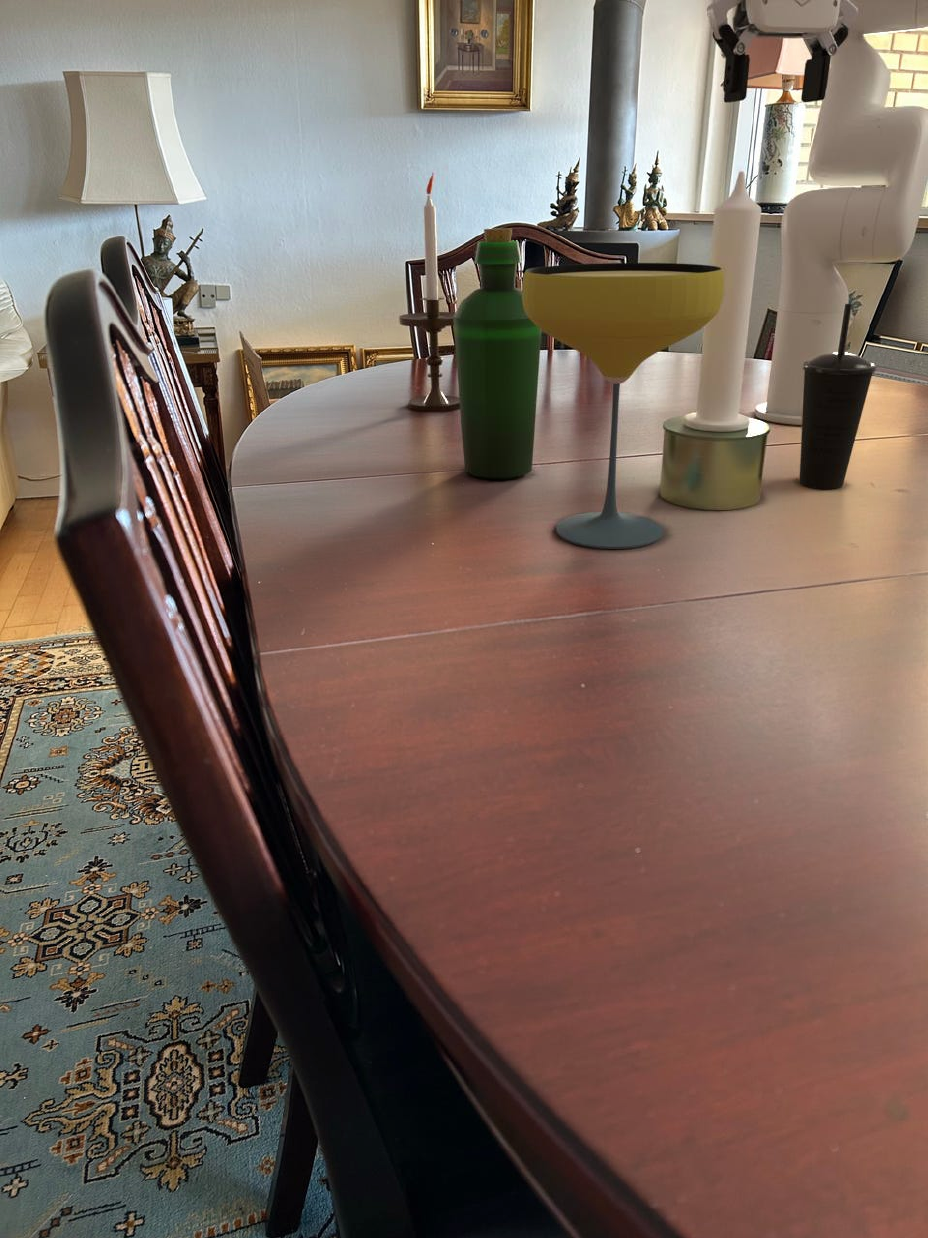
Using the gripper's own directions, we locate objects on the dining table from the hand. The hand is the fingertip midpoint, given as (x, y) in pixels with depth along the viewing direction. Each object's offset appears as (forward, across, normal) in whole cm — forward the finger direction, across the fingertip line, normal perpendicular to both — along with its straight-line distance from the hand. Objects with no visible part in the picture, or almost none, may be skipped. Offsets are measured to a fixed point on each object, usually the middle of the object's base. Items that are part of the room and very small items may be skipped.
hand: (774, 100), depth 95 cm
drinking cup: (+40, +5, -10) cm, 42 cm away
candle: (+32, -10, -9) cm, 35 cm away
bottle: (+40, -29, +8) cm, 50 cm away
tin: (+40, -10, -10) cm, 42 cm away
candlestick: (+40, -25, +50) cm, 69 cm away
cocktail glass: (+40, -26, -16) cm, 50 cm away
